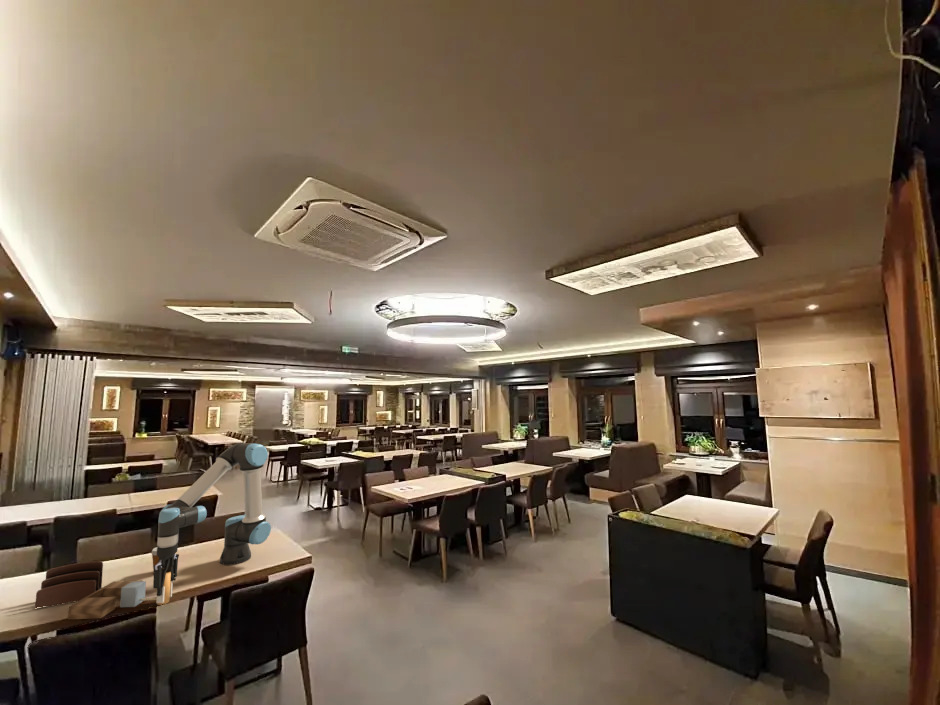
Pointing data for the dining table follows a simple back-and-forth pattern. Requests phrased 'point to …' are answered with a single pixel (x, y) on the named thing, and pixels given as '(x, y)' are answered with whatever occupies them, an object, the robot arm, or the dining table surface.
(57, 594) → the letter holder
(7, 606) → the dining table surface
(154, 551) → the disposable coffee cup
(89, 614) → the cubby lane
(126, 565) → the dining table surface
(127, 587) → the tethered block
